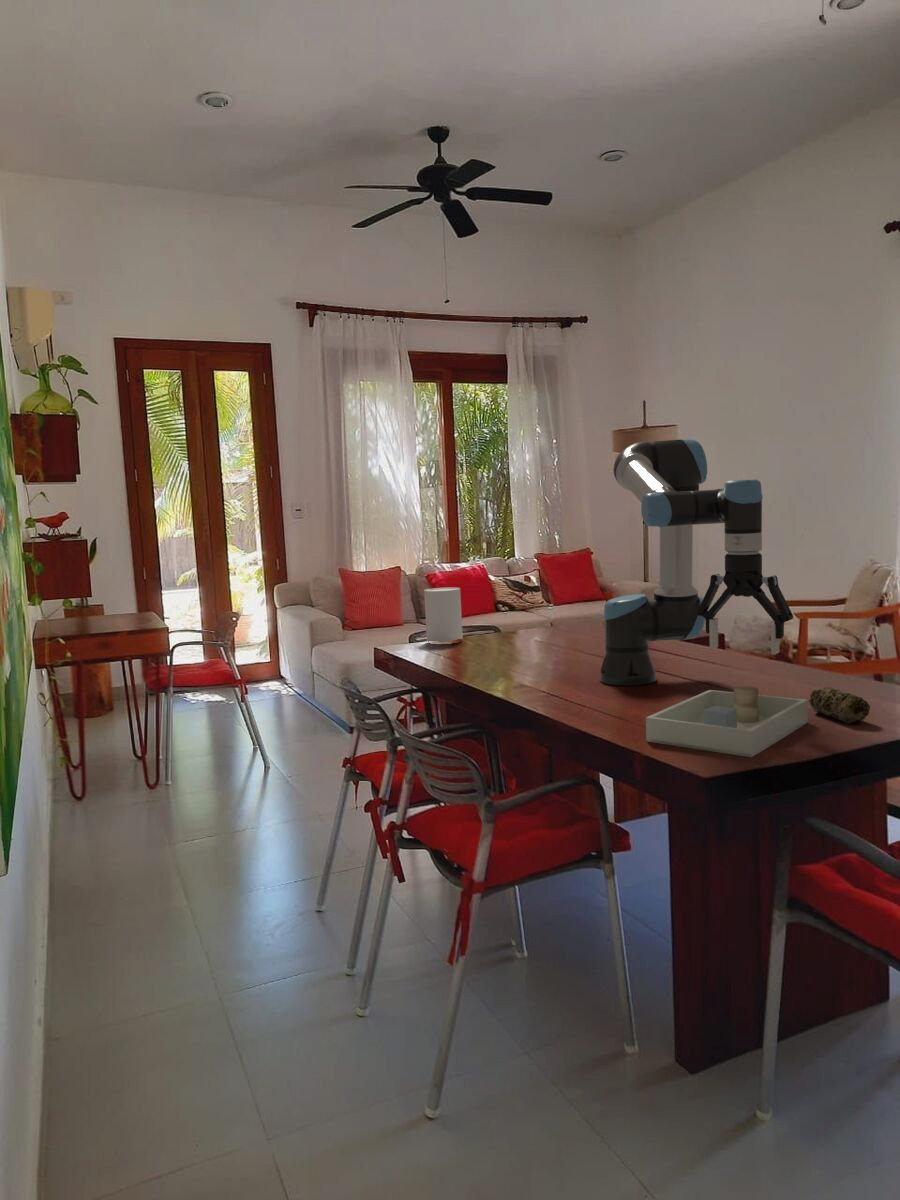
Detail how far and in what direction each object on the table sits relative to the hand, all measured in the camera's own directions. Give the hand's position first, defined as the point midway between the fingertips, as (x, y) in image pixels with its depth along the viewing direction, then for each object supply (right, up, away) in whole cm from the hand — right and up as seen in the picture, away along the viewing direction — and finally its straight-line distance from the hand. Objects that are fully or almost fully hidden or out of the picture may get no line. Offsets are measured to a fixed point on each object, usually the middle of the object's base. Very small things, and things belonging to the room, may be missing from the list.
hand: (743, 650), depth 187 cm
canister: (-65, -5, +139) cm, 154 cm away
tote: (-5, -17, -6) cm, 18 cm away
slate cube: (-8, -17, -9) cm, 20 cm away
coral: (+21, -15, +1) cm, 26 cm away
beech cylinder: (+1, -15, +1) cm, 15 cm away
